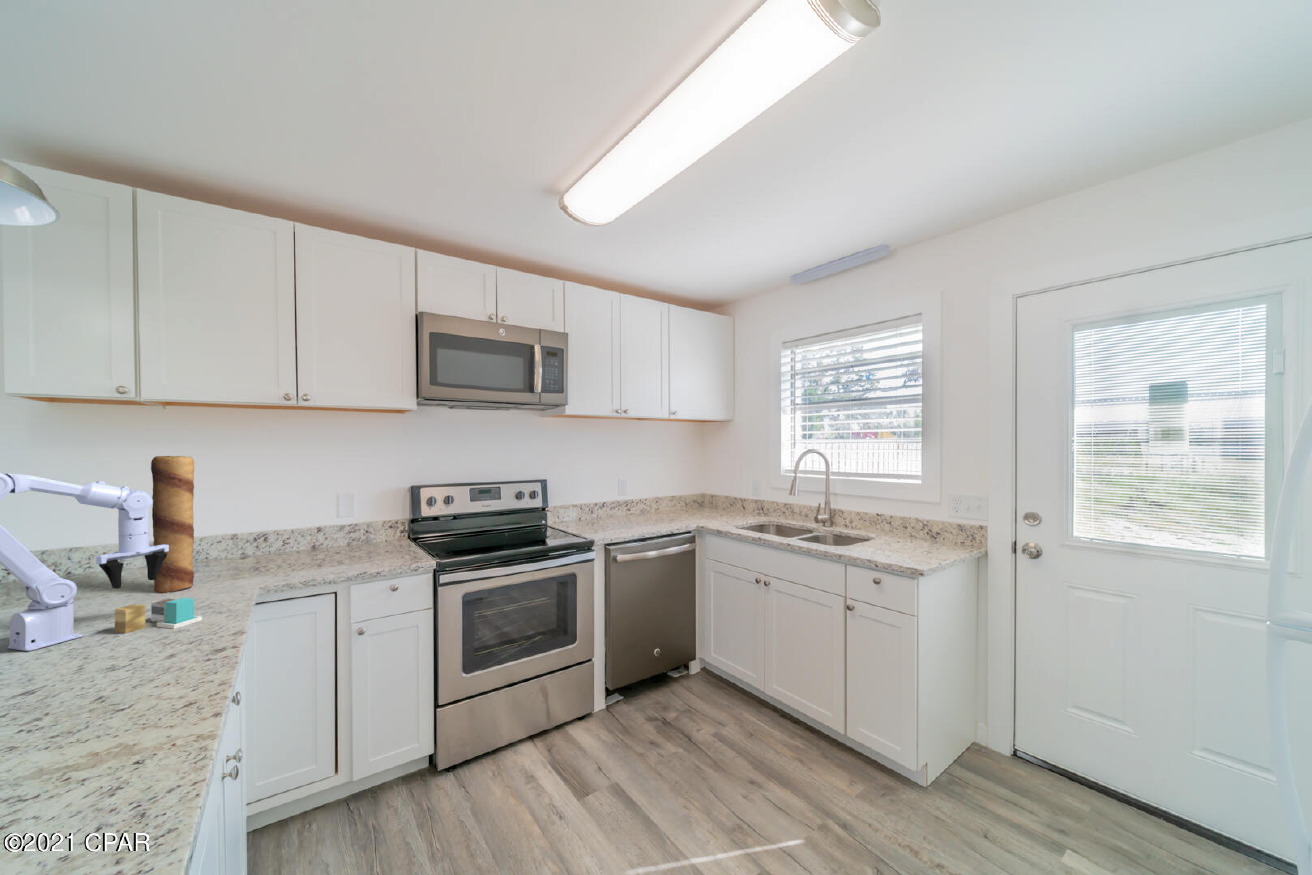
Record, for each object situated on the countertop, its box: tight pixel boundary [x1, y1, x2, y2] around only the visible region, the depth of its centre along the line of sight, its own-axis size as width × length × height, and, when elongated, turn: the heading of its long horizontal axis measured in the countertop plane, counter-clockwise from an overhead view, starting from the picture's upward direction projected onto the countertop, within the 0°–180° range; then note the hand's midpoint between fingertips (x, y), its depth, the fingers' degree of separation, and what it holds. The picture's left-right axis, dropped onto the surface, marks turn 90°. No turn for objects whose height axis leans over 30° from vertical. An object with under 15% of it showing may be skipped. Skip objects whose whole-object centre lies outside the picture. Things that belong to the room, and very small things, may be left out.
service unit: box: [150, 598, 176, 623], centre depth 136 cm, size 4×5×5 cm
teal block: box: [166, 597, 195, 624], centre depth 133 cm, size 4×4×6 cm
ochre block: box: [114, 603, 146, 634], centre depth 129 cm, size 4×4×6 cm
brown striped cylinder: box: [150, 455, 195, 594], centre depth 167 cm, size 10×11×45 cm
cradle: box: [156, 615, 203, 630], centre depth 133 cm, size 6×6×1 cm
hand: (134, 583), depth 135 cm, fingers open, 7 cm apart
